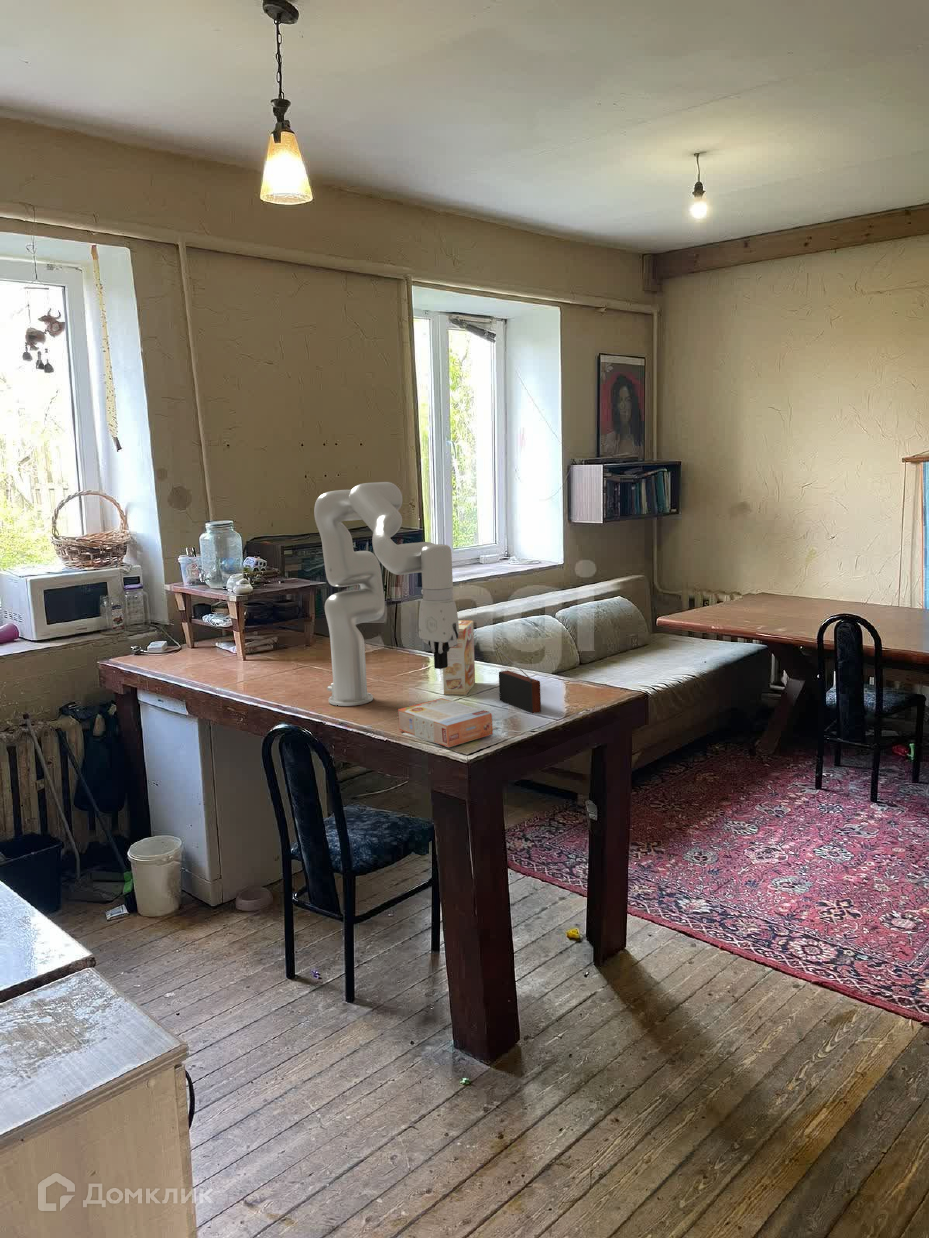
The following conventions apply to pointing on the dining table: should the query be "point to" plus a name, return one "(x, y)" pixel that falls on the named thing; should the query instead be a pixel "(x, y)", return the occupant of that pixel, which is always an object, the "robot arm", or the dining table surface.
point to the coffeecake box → (460, 662)
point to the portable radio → (519, 690)
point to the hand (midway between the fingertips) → (441, 667)
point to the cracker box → (445, 722)
